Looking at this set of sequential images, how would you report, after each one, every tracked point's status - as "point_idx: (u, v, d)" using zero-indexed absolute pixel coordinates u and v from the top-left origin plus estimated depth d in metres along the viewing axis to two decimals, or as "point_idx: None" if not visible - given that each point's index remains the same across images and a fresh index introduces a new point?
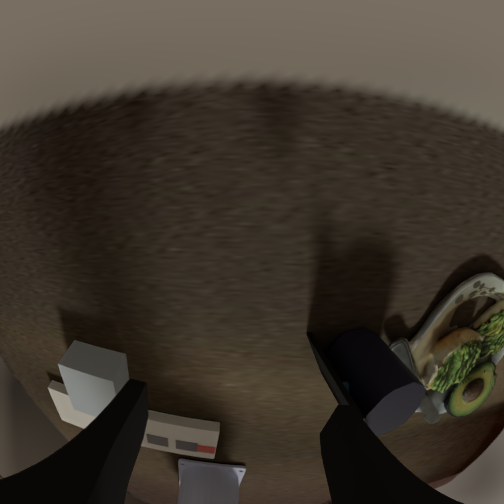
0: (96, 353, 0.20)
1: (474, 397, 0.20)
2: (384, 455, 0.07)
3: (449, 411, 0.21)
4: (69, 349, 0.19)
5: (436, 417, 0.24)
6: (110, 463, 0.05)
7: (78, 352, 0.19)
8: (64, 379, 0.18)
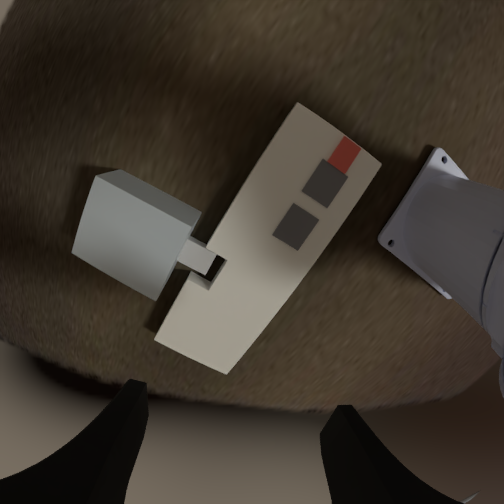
0: None
1: None
2: (384, 455, 0.07)
3: None
4: None
5: None
6: (110, 463, 0.05)
7: None
8: (95, 264, 0.15)
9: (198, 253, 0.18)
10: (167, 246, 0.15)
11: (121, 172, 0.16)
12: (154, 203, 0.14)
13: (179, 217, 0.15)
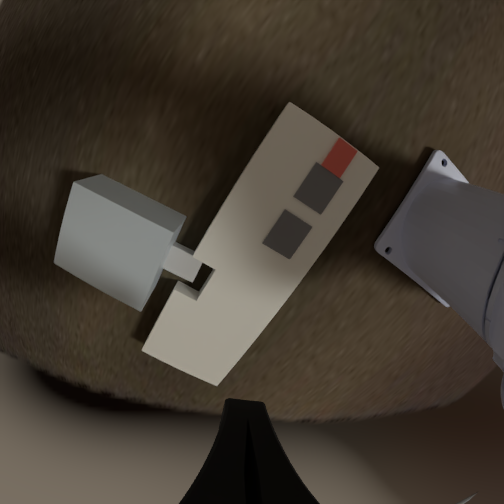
0: None
1: None
2: (278, 463, 0.06)
3: None
4: None
5: None
6: None
7: None
8: (77, 274, 0.14)
9: (184, 260, 0.17)
10: (150, 254, 0.14)
11: (102, 177, 0.15)
12: (134, 208, 0.13)
13: (161, 223, 0.14)
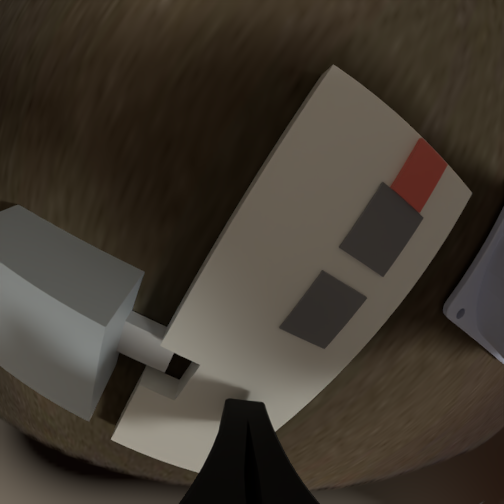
0: None
1: None
2: (278, 463, 0.06)
3: None
4: None
5: None
6: None
7: None
8: None
9: (147, 343, 0.09)
10: (77, 355, 0.07)
11: (15, 211, 0.08)
12: (43, 275, 0.06)
13: (85, 305, 0.06)
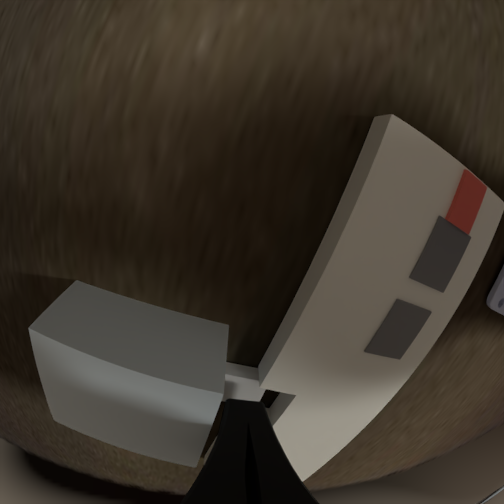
0: None
1: None
2: (277, 463, 0.06)
3: None
4: None
5: None
6: None
7: None
8: (90, 434, 0.08)
9: (239, 386, 0.10)
10: (190, 419, 0.07)
11: (77, 289, 0.09)
12: (141, 358, 0.07)
13: (195, 378, 0.07)
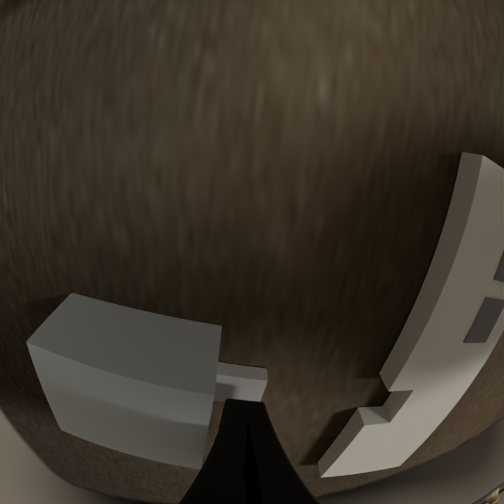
0: None
1: None
2: (278, 463, 0.06)
3: None
4: None
5: None
6: None
7: None
8: (96, 442, 0.08)
9: (238, 387, 0.10)
10: (186, 422, 0.07)
11: (72, 302, 0.09)
12: (134, 364, 0.07)
13: (186, 381, 0.07)
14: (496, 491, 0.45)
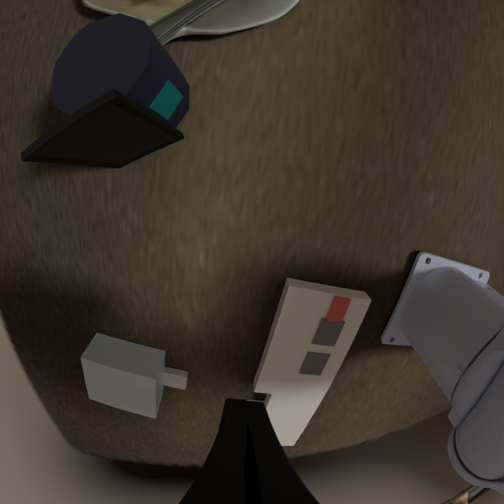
0: None
1: None
2: (278, 463, 0.06)
3: None
4: None
5: None
6: None
7: None
8: (107, 403, 0.19)
9: (174, 379, 0.21)
10: (147, 391, 0.18)
11: (98, 337, 0.20)
12: (126, 366, 0.18)
13: (146, 373, 0.18)
14: (464, 495, 0.57)
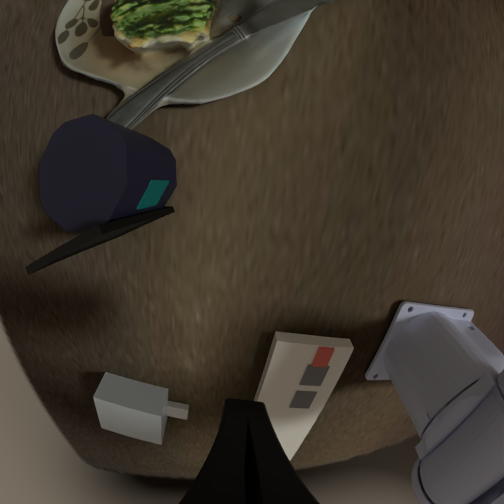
0: None
1: None
2: (278, 463, 0.06)
3: None
4: None
5: None
6: None
7: None
8: (118, 432, 0.21)
9: (177, 411, 0.23)
10: (153, 424, 0.20)
11: (107, 377, 0.22)
12: (134, 404, 0.20)
13: (152, 410, 0.20)
14: None
